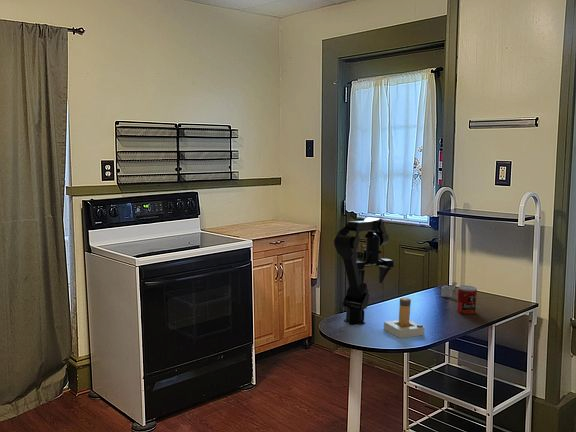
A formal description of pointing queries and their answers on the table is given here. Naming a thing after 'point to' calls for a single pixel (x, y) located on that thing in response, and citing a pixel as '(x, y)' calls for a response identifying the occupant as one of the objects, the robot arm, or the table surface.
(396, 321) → the socket block
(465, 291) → the canned food
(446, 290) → the lighter
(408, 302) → the plug
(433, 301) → the table surface
